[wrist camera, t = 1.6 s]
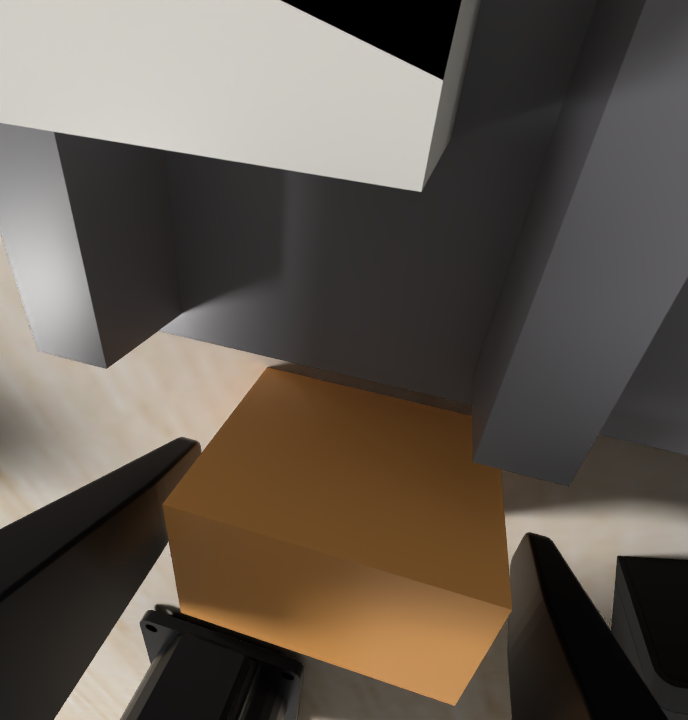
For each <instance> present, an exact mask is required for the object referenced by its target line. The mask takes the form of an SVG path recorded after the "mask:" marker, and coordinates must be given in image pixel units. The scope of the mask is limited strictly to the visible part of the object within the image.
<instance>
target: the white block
mask: <svg viewBox="0 0 688 720" xmlns="http://www.w3.org/2000/svg"><path fill="white" fill-rule="evenodd" d="M480 2H481V0H462V1H461V5H460V10H459V14H458V18H457V23H456V27H455V31H454V36H453V40H452V44H451V49H450V53H449V57H448V62H447V66H446V71H445V75H444V79H443V80H441V79H439V78H437V77H435V76H433V75H431V74H429V73H427V72H425V71H423V70H421V69H419V68H417V67H415V66H413V65H411V64H409V63H407V62H405V61H403V60H401V59H399V58H397V57H395V56H393V55H390V54H388V53H386V52H384V51H382V50H380V49H378V48H376V47H374V46H372V45H370V44H368V43H366V42H364V41H362V40H360V39H358V38H356V37H354V36H352V35H350V34H348V33H346V32H344V31H342V30H340V29H338V28H336V27H334V26H332V25H330V24H328V23H326V22H323V21H321V20H319V19H317V18H315V17H313V16H311V15H309V14H307V13H305V12H303V11H301V10H299V9H297V8H295V7H293V6H291V5H289V4H287V3H285V2H283V1H281V0H0V123H4V124H10V125H16V126H23V127H29V128H35V129H41V130H47V131H53V132H59V133H65V134H71V135H77V136H83V137H89V138H96V139H102V140H108V141H114V142H120V143H126V144H132V145H138V146H144V147H150V148H156V149H163V150H169V151H175V152H181V153H187V154H193V155H199V156H205V157H211V158H217V159H223V160H229V161H236V162H242V163H248V164H254V165H260V166H266V167H272V168H278V169H284V170H290V171H296V172H303V173H309V174H315V175H321V176H327V177H333V178H339V179H345V180H351V181H357V182H363V183H369V184H376V185H382V186H388V187H394V188H400V189H406V190H412V191H418V192H422V190H423V188H424V186H425V185H426V183H427V181H428V179H429V177H430V176H431V174H432V172H433V170H434V168H435V166H436V165H437V163H438V161H439V159H440V157H441V156H442V154H443V152H444V150H445V148H446V146H447V145H448V143H449V141H450V139H451V136H452V132H453V127H454V122H455V118H456V113H457V108H458V104H459V99H460V95H461V90H462V85H463V81H464V76H465V72H466V67H467V62H468V58H469V53H470V49H471V44H472V39H473V35H474V30H475V25H476V21H477V16H478V12H479V7H480Z"/></svg>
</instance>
